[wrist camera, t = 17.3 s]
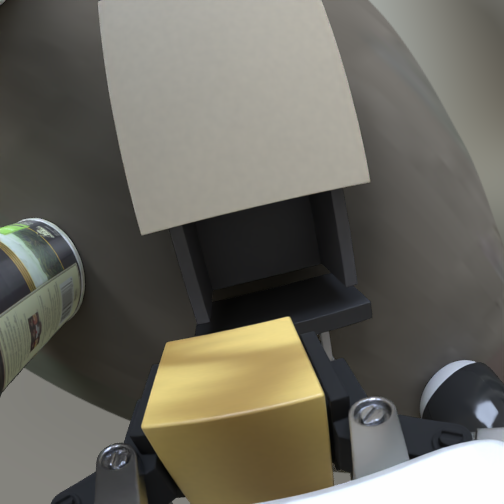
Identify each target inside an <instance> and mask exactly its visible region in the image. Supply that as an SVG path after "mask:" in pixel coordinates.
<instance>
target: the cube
mask: <svg viewBox="0 0 504 504" xmlns="http://www.w3.org/2000/svg"><path fill="white" fill-rule="evenodd" d="M141 428H142V430H143V432H144V434H145V435H146V437H147V439H148V440H149V442H150V444H151V445H152V447H153V449H154V450H155V452H156V454H157V455H158V457H159V458H160V460H161V461H162V463H163V465H164V466H165V468H166V469H167V471H168V472H169V474H170V475H171V477H172V478H173V480H174V481H175V483H176V484H177V485H178V487H179V488H180V490H181V491H182V493H183V494H184V495H185V497H186V498H187V499H188V501H189V502H190V504H255V503H261V502H267V501H272V500H277V499H282V498H287V497H292V496H297V495H301V494H305V493H309V492H313V491H317V490H321V489H325V488H329V487H332V486H334V479H333V467H332V456H331V446H330V436H329V427H328V418H327V409H326V401H325V394H324V392H323V389H322V387H321V385H320V383H319V380H318V378H317V376H316V374H315V371H314V369H313V367H312V365H311V362H310V360H309V358H308V356H307V353H306V351H305V349H304V347H303V345H302V342H301V340H300V338H299V336H298V333H297V331H296V329H295V327H294V324H293V322H292V320H291V318H290V317H284V318H280V319H275V320H271V321H267V322H263V323H258V324H254V325H249V326H245V327H240V328H236V329H231V330H227V331H222V332H217V333H212V334H207V335H202V336H197V337H192V338H187V339H182V340H176V341H171V342H167V343H166V345H165V348H164V351H163V354H162V357H161V361H160V364H159V367H158V370H157V374H156V377H155V380H154V383H153V387H152V390H151V394H150V397H149V400H148V404H147V407H146V411H145V414H144V418H143V421H142V425H141Z"/></svg>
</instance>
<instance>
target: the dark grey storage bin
mask: <svg viewBox="0 0 504 504" xmlns="http://www.w3.org/2000/svg"><path fill="white" fill-rule="evenodd" d="M169 231H170V235H171V239H172V242H173V246H174V249H175V253H176V256H177V260H178V263H179V267H180V270H181V273H182V277H183V280H184V283H185V287H186V290H187V293H188V296H189V300H190V303H191V306H192V309H193V312H194V315H195V318H196V322H197V326H196V332H195V337H197V336H202V335H207V334H212V333H217V332H222V331H227V330H231V329H236V328H240V327H245V326H249V325H254V324H258V323H263V322H267V321H271V320H275V319H280V318H284V317H290V318H291V320H292V322H293V324H294V327H295V329H296V331H297V333H298V336H299V338H300V335H301V334H305V333H308V332H312V331H314V332H315V334H316V335H317V334H320V337H321V344H322V346H323V348H324V350H325V352H326V354H327V355H328V357H329V359H330V361H333V360H335V359H334V357H332V350H331V342H330V335H329V331H331V330H334V329H338V328H341V327H345V326H348V325H351V324H354V323H358V322H361V321H364V320H367V319H370V318H372V309H371V302H370V301H369V300H368V299H367V298H366V297H365V296H364V295H363V294H362V293H361V292H360V291H358V290H357V289H356V288H355V287H354V286H353V285H357V276H356V268H355V261H354V254H353V247H352V240H351V233H350V227H349V221H348V215H347V209H346V203H345V198H344V192H343V188H339V189H334V190H329V191H325V192H320V193H315V194H311V195H306V196H302V197H297V198H292V199H288V200H283V201H279V202H275V203H270V204H266V205H262V206H257V207H253V208H249V209H245V210H240V211H236V212H232V213H228V214H224V215H220V216H216V217H212V218H208V219H204V220H200V221H196V222H192V223H188V224H184V225H180V226H176V227H172V228H169ZM319 264H322V265H323V266H325V267H326V268H327V269H328V270H329V271H330V272H331V273H329V274H325V275H321V276H318V277H314V278H310V279H306V280H302V281H298V282H294V283H290V284H286V285H282V286H278V287H274V288H270V289H266V290H262V291H258V292H254V293H250V294H246V295H242V296H237V297H233V298H229V299H225V300H220V301H216V302H212V295H213V290H217V289H221V288H225V287H229V286H234V285H238V284H242V283H246V282H250V281H254V280H259V279H263V278H267V277H271V276H275V275H279V274H283V273H287V272H291V271H295V270H299V269H303V268H307V267H311V266H315V265H319Z"/></svg>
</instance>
